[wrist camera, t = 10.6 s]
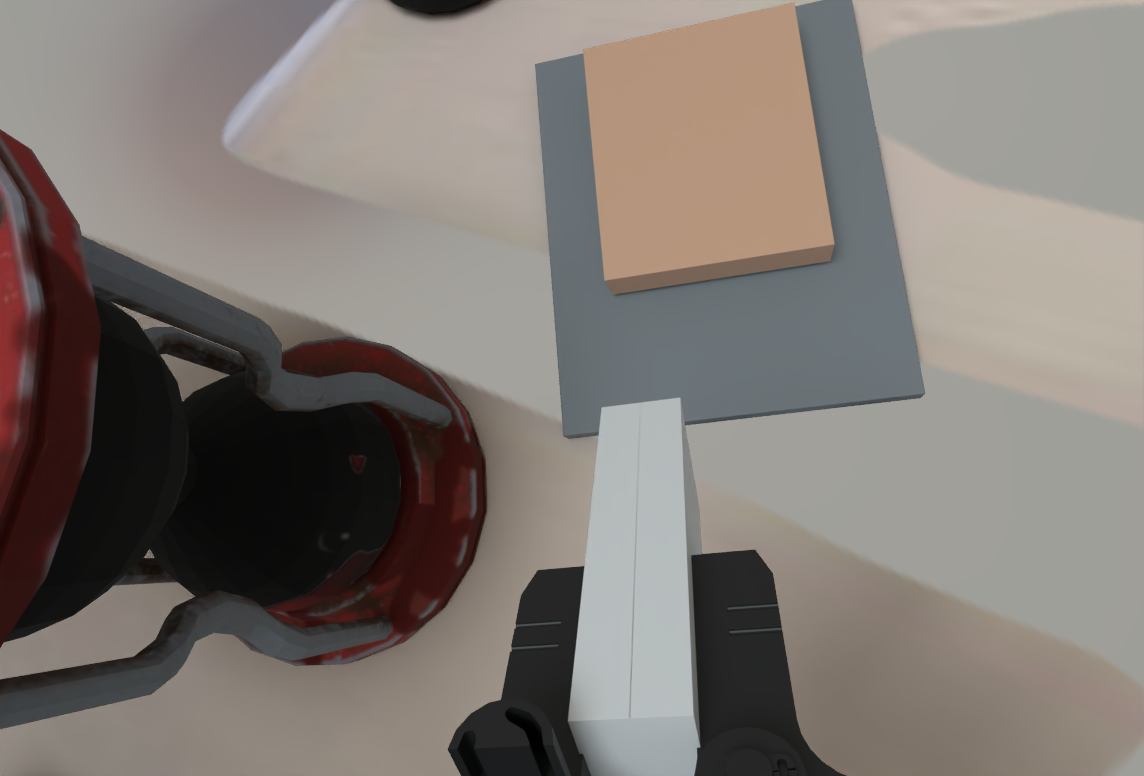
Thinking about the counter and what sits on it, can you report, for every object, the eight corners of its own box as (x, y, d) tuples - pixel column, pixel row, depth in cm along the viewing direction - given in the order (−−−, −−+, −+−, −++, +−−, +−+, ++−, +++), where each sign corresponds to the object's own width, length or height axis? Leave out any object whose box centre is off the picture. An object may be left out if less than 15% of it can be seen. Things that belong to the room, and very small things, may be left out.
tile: (834, 244, 33) (794, 2, 35) (604, 280, 35) (583, 49, 37) (829, 264, 35) (791, 35, 38) (613, 297, 37) (593, 78, 40)
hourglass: (271, 724, 38) (-559, 1017, 14) (162, 447, 42) (-598, 313, 19) (547, 554, 36) (145, 561, 12) (401, 288, 41) (-90, -78, 17)
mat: (920, 397, 34) (925, 393, 33) (568, 438, 37) (563, 435, 36) (848, 8, 38) (850, -6, 37) (540, 75, 42) (535, 64, 41)
